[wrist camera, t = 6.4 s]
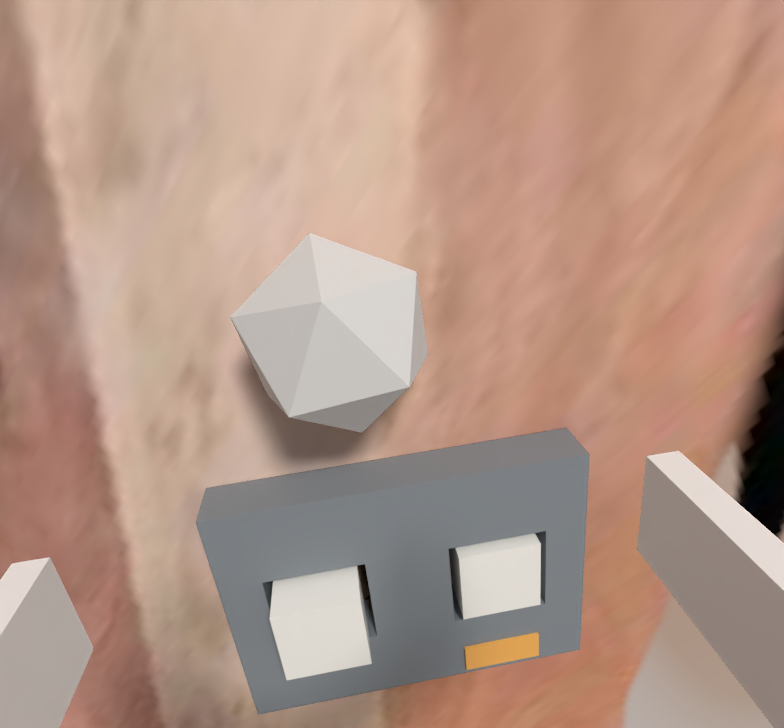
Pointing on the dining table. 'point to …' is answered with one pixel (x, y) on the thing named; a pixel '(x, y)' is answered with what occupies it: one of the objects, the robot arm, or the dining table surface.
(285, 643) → the button
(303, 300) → the die
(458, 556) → the tagged button
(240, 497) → the breaker panel
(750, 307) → the dining table surface
